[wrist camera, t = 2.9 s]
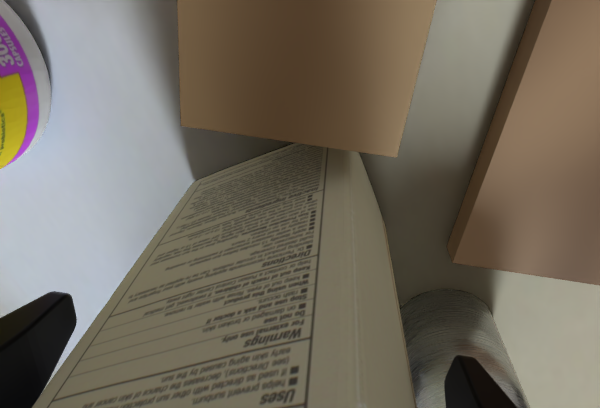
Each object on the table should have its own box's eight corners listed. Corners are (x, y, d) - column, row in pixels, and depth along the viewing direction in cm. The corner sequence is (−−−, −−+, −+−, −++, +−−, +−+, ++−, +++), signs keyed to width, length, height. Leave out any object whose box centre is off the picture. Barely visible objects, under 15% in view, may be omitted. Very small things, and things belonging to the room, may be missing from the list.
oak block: (413, -43, 11) (448, -46, 8) (382, 101, 13) (396, 157, 10) (232, -67, 12) (174, -83, 8) (228, 79, 14) (180, 125, 10)
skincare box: (243, 266, 17) (80, 743, 7) (188, 175, 15) (-158, 636, 5) (392, 223, 15) (490, 771, 5) (352, 114, 14) (373, 622, 3)
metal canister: (507, 297, 17) (579, 447, 11) (474, 364, 19) (523, 518, 13) (407, 282, 17) (434, 424, 12) (385, 350, 19) (400, 497, 14)
